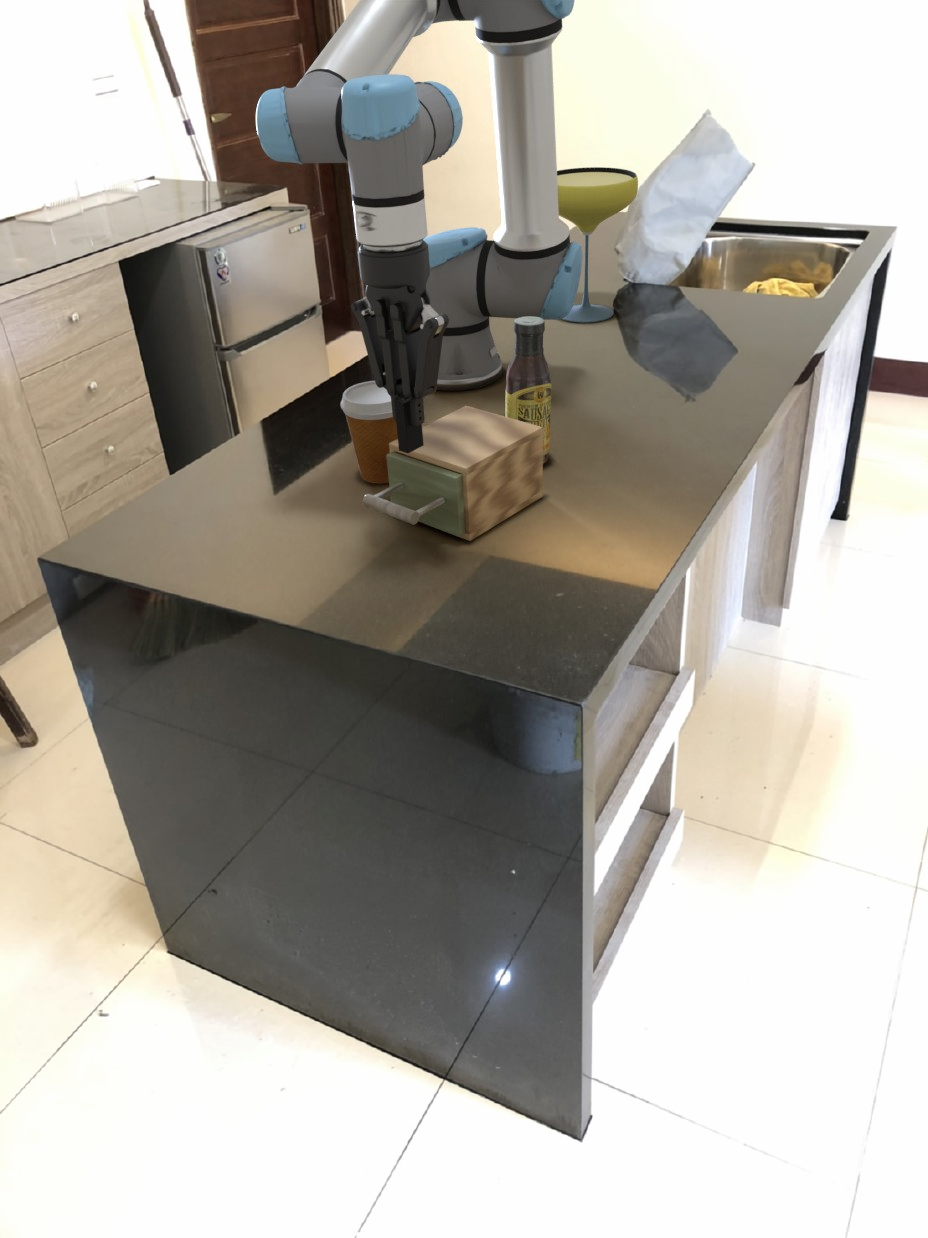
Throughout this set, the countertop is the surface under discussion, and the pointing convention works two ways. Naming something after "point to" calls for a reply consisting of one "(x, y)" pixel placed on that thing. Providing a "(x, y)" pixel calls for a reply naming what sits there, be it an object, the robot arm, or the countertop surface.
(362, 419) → the disposable coffee cup
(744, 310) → the countertop surface
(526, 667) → the countertop surface
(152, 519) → the countertop surface
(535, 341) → the sauce bottle
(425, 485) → the drawer
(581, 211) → the cocktail glass
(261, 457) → the countertop surface
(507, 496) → the cabinet
